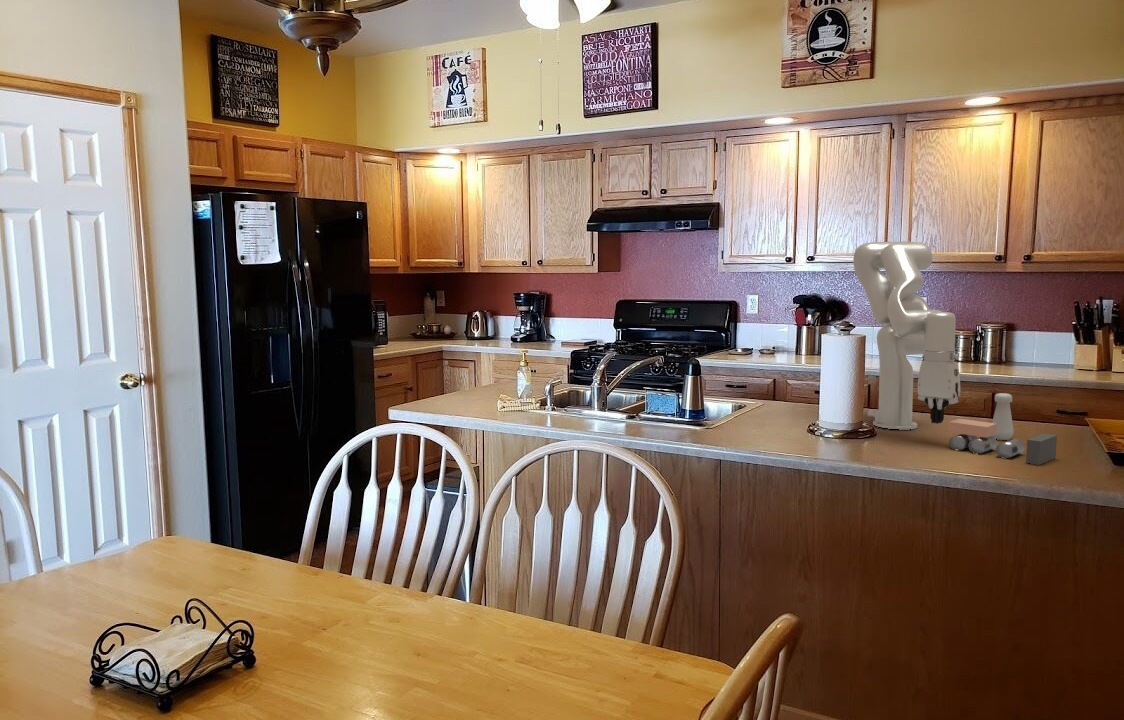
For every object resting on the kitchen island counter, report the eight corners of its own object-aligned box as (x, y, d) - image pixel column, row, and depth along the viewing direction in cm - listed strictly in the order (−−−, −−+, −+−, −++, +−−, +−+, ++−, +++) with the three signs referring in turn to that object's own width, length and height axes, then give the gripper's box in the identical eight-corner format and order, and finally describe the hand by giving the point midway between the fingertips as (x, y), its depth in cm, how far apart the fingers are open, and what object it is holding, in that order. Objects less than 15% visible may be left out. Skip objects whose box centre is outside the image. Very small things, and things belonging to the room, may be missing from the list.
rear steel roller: (948, 448, 211) (950, 434, 210) (961, 444, 216) (963, 430, 215) (963, 452, 208) (965, 438, 207) (976, 448, 212) (978, 433, 212)
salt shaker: (1001, 442, 217) (1003, 396, 216) (985, 437, 223) (986, 392, 221) (1018, 440, 219) (1020, 394, 217) (1001, 436, 224) (1003, 391, 223)
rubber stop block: (1026, 463, 195) (1027, 439, 194) (1042, 456, 201) (1043, 433, 200) (1039, 465, 192) (1040, 441, 191) (1055, 458, 198) (1056, 435, 198)
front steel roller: (967, 451, 207) (970, 437, 206) (980, 446, 212) (983, 432, 211) (982, 456, 204) (985, 441, 203) (995, 451, 209) (998, 437, 208)
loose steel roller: (996, 458, 201) (995, 442, 201) (1008, 453, 206) (1007, 438, 206) (1012, 459, 198) (1011, 443, 198) (1025, 454, 203) (1024, 439, 203)
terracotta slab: (948, 431, 211) (948, 421, 211) (958, 428, 215) (959, 418, 215) (986, 437, 203) (987, 427, 203) (996, 434, 207) (997, 423, 207)
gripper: (973, 357, 211) (970, 424, 213) (919, 353, 223) (917, 417, 225) (960, 360, 206) (957, 428, 208) (905, 356, 218) (904, 420, 220)
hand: (936, 422), depth 217 cm, fingers closed
